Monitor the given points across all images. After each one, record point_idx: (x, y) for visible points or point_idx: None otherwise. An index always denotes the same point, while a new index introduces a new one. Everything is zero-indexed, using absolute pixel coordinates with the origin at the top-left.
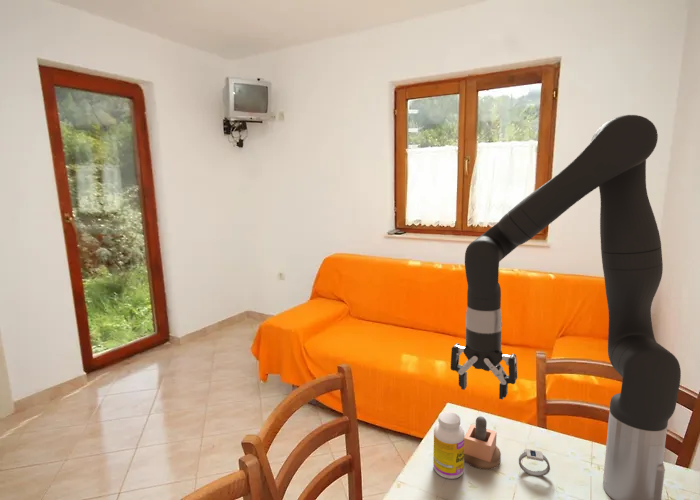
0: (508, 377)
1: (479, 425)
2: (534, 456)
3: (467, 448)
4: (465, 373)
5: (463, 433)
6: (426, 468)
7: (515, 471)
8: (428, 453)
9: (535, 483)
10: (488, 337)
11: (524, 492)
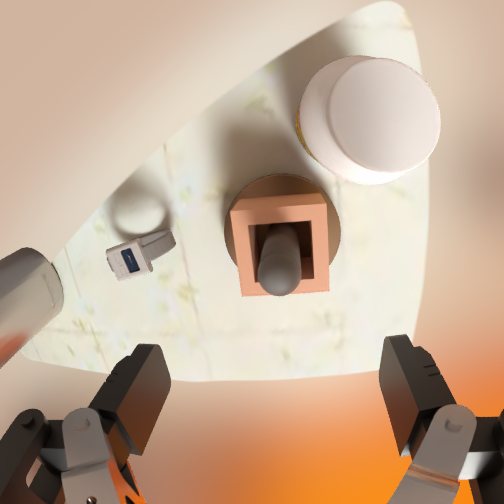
0: (58, 455)
1: (279, 252)
2: (122, 249)
3: (309, 197)
4: (408, 440)
5: (306, 128)
6: None
7: (186, 224)
8: None
9: (138, 211)
10: None
11: (147, 166)
